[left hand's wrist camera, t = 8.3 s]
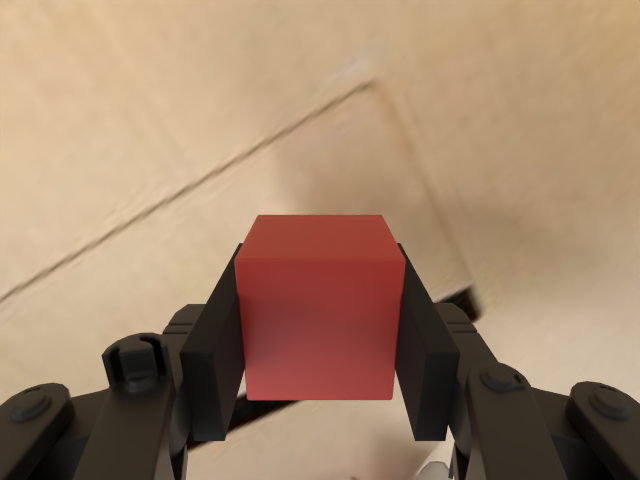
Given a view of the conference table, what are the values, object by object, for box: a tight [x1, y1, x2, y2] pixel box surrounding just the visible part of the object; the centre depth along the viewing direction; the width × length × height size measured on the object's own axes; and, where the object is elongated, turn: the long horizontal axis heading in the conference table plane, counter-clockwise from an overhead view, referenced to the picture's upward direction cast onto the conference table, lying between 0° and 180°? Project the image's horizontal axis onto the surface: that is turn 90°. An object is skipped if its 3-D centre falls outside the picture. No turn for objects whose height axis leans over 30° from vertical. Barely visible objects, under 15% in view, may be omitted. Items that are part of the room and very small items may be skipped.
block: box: [234, 215, 406, 400], centre depth 13 cm, size 5×5×4 cm
